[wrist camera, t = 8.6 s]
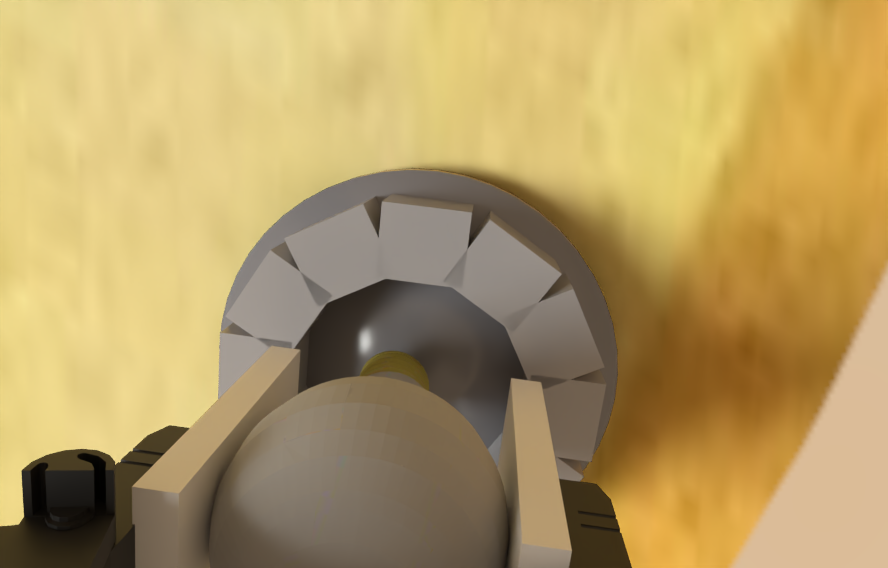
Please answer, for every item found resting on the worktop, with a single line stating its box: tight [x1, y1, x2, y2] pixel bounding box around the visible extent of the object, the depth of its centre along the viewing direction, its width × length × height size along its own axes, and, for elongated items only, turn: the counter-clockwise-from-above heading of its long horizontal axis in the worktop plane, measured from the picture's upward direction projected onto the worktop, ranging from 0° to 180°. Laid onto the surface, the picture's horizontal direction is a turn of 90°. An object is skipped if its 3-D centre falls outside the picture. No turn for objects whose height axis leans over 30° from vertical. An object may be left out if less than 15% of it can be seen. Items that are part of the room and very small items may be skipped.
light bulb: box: [209, 351, 509, 568], centre depth 14 cm, size 5×6×10 cm
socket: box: [218, 168, 618, 482], centre depth 19 cm, size 12×12×3 cm
